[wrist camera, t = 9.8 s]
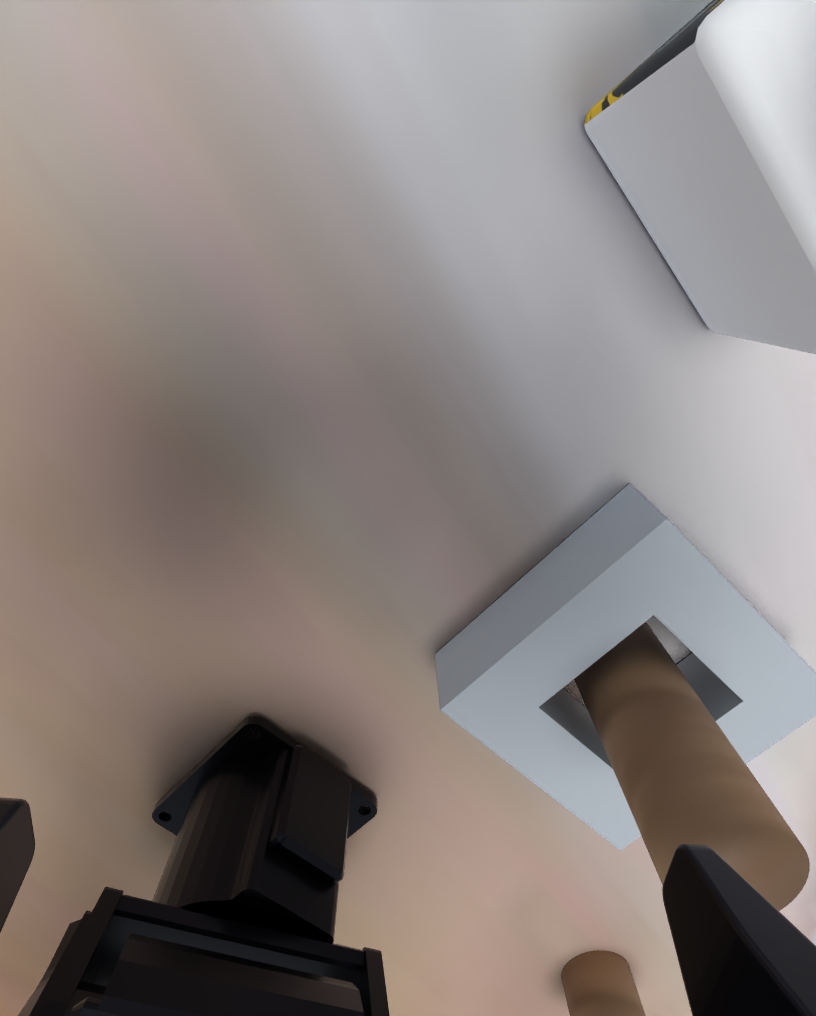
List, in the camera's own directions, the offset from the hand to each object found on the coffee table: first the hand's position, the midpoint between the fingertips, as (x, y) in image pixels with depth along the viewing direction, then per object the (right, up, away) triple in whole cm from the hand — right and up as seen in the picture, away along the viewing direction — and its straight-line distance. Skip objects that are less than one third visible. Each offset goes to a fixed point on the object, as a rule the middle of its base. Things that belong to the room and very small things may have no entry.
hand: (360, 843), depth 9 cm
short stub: (+9, -17, +20) cm, 28 cm away
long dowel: (+8, 0, +14) cm, 16 cm away
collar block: (+8, 0, +14) cm, 16 cm away
